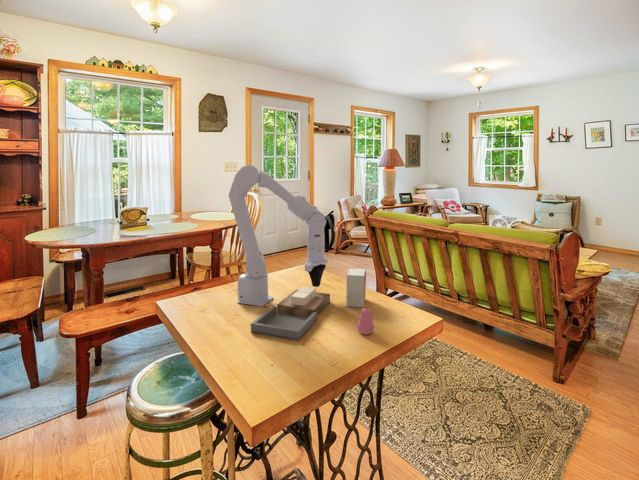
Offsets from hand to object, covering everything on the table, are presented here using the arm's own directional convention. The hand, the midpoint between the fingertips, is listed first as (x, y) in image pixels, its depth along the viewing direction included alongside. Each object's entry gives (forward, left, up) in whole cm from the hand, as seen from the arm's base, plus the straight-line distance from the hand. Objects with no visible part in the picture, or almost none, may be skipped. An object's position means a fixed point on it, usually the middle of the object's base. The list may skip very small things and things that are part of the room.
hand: (316, 286), depth 123 cm
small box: (+14, 0, -4) cm, 15 cm away
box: (0, -24, -4) cm, 24 cm away
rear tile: (0, -8, -1) cm, 8 cm away
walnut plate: (0, -10, -4) cm, 11 cm away
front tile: (0, -13, -1) cm, 13 cm away
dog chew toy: (+22, -20, -4) cm, 30 cm away
